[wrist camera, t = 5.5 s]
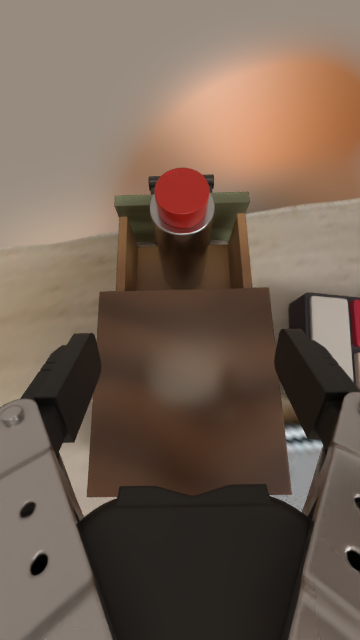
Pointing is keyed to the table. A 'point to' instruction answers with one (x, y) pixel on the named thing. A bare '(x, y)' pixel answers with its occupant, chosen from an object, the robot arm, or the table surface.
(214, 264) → the drawer
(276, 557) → the robot arm
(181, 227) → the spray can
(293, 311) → the calculator
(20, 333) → the table surface
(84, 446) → the table surface
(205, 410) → the cabinet
